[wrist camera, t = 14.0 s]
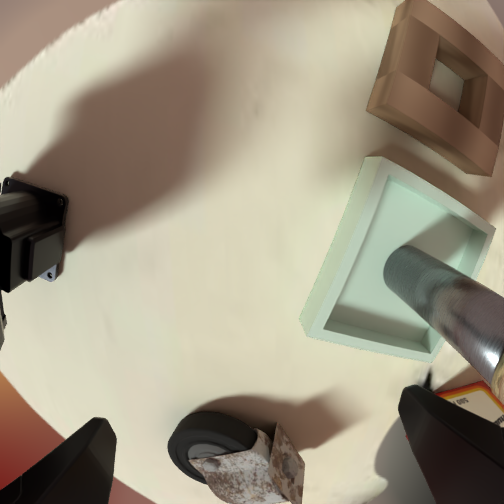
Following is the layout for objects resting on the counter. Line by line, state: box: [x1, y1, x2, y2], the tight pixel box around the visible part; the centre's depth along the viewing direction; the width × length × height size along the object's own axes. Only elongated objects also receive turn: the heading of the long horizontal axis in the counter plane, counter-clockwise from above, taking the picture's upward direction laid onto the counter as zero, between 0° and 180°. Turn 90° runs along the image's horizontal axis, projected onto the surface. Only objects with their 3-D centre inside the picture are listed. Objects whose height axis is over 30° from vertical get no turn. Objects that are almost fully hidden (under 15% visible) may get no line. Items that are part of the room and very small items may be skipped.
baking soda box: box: [406, 381, 504, 439], centre depth 19 cm, size 10×6×16 cm
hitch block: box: [366, 0, 504, 177], centre depth 16 cm, size 10×10×3 cm
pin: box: [383, 245, 504, 405], centre depth 14 cm, size 4×4×13 cm
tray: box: [299, 156, 496, 363], centre depth 20 cm, size 12×12×2 cm
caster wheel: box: [168, 412, 305, 504], centre depth 22 cm, size 7×11×10 cm
